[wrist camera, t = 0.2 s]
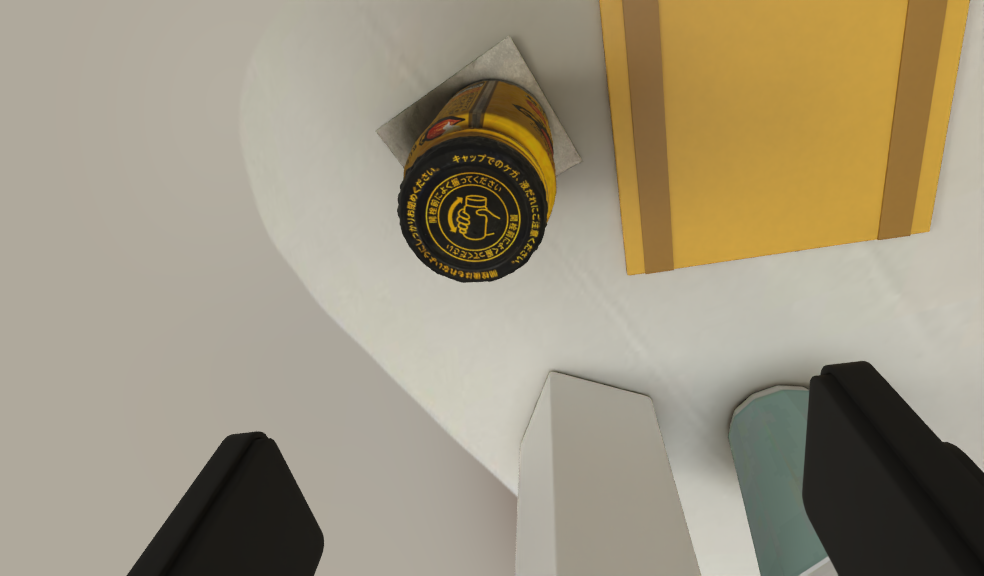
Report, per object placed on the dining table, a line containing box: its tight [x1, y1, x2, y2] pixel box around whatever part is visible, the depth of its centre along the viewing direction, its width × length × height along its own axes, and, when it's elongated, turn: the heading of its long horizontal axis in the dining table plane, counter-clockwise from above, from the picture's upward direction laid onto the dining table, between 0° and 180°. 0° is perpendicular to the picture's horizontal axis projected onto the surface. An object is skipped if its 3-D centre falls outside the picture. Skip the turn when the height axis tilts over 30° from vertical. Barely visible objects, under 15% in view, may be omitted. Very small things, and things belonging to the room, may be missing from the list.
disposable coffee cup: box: [728, 385, 838, 576], centre depth 30 cm, size 11×11×15 cm
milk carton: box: [515, 372, 701, 576], centre depth 29 cm, size 7×7×19 cm
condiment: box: [376, 36, 582, 283], centre depth 24 cm, size 7×8×12 cm
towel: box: [599, 0, 970, 275], centre depth 26 cm, size 22×16×1 cm
